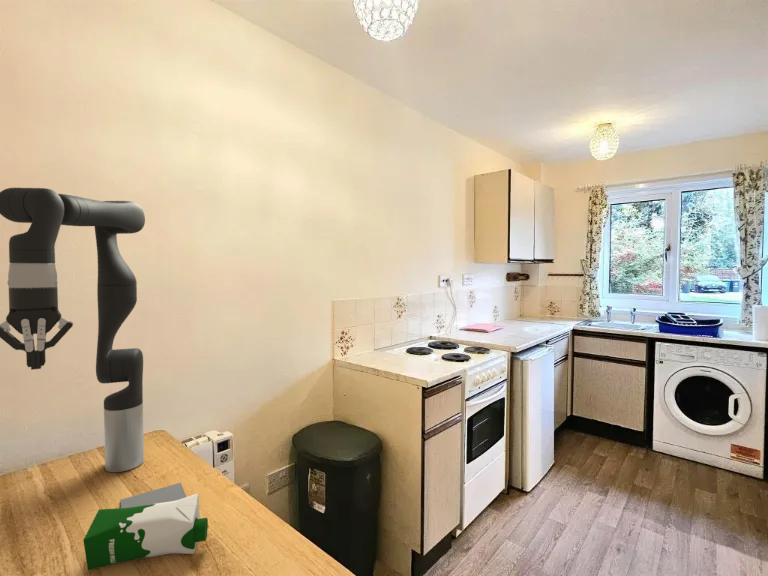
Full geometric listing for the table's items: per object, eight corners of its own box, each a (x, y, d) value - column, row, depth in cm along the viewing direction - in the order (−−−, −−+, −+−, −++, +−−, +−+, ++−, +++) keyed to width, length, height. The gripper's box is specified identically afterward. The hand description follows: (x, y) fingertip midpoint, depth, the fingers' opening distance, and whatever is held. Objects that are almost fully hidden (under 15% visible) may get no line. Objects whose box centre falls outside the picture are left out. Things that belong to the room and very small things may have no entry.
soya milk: (80, 540, 69) (203, 520, 75) (100, 501, 77) (209, 486, 83) (85, 579, 71) (205, 557, 77) (104, 537, 79) (211, 520, 85)
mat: (120, 502, 93) (120, 499, 93) (180, 484, 101) (180, 482, 101) (125, 550, 77) (125, 547, 77) (196, 525, 85) (196, 522, 85)
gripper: (75, 284, 87) (77, 361, 88) (-8, 285, 80) (-5, 369, 80) (73, 285, 81) (76, 367, 82) (-16, 286, 73) (-13, 377, 74)
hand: (36, 368), depth 81 cm, fingers closed
